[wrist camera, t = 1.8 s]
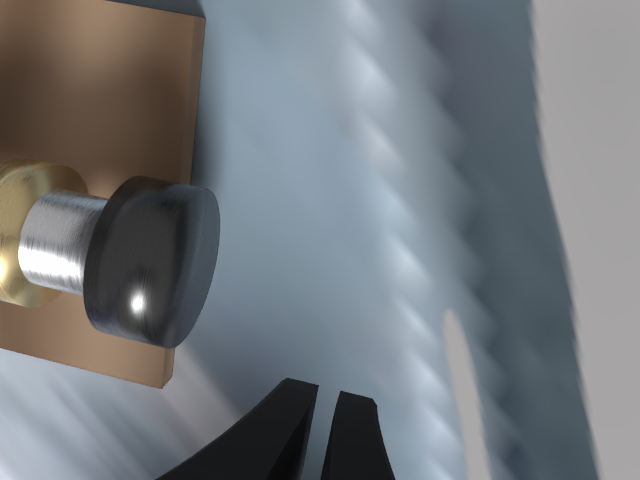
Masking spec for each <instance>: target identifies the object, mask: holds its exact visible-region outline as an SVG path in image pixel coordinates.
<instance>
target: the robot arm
mask: <svg viewBox="0 0 640 480" xmlns="http://www.w3.org/2000/svg"><path fill="white" fill-rule="evenodd" d="M318 387H319V385H315V384H311V383H307V382H303V381H299V380H295V379H291V378H286V379H285V380H283V381H281V382H280V383H279V384H278V385H277V386H276V387H275V388H274V389H273V390H272V391H271V392H270V393H269V394H268V395H267V396H266V397H265V398H264V399H263V400H262V401H261V402H260V403H259V404H258V405H256V406H255V407H254V408H253V409H252V410H251V411H250V412H249V413H247V414H246V415H245V416H244V417H243V418H241V419H240V420H239V421H238V422H237V423H235V424H234V425H233V426H232V427H231V428H229V429H228V430H227V431H226V432H224V433H223V434H222V435H221V436H219V437H218V438H217V439H215V440H214V441H212V442H211V443H210V444H208V445H207V446H205V447H204V448H203V449H201V450H200V451H199V452H197V453H196V454H194V455H193V456H192V457H190V458H189V459H187V460H186V461H184V462H183V463H181V464H180V465H178V466H177V467H175V468H173V469H172V470H170V471H169V472H167V473H165V474H164V475H162V476H160V477H159V478H157V479H155V480H300V478H301V474H302V470H303V465H304V460H305V454H306V449H307V444H308V439H309V434H310V428H311V423H312V418H313V413H314V408H315V402H316V397H317V392H318ZM321 480H395V477H394V474H393V471H392V468H391V465H390V462H389V459H388V456H387V453H386V449H385V446H384V442H383V438H382V434H381V430H380V425H379V420H378V413H377V405H376V403H375V402H374V400H373V399H372V398H368V397H364V396H360V395H356V394H352V393H348V392H343V391H340V394H339V397H338V401H337V404H336V408H335V412H334V417H333V421H332V426H331V431H330V436H329V441H328V446H327V451H326V455H325V460H324V465H323V470H322V475H321Z"/></svg>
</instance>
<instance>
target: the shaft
mask: <svg viewBox="0 0 640 480" xmlns="http://www.w3.org/2000/svg"><path fill="white" fill-rule="evenodd" d="M219 237H220V213H219V207H218V203H217V200H216V197H215V195H214V194H213V192H212V191H210V190H208V189H205V188H200V187H195V186H190V185H186V184H181V183H176V182H171V181H167V180H162V179H157V178H152V177H148V176H143V175H138V176H134V177H131V178H130V179H128V180H126V181H125V182H124V183H122V184H121V185H120V186H119V187H118V188H117V189H116V191H115V192H114V193H113V194H112V196H111V197H110V199H107V198H102V197H98V196H93V195H89V192H88V188H87V186H86V184H85V182H84V180H83V178H82V177H81V176H80V174H79V173H78V172H76V171H75V170H74V169H72V168H70V167H67V166H64V165H59V164H54V163H49V162H45V161H40V160H35V159H31V158H15V159H12V160H9V161H7V162H5V163H3V164H2V165H0V300H1V301H5V302H9V303H13V304H17V305H21V306H25V307H33V308H34V307H40V306H43V305H45V304H47V303H49V302H51V301H52V300H54V299H55V298H56V297H57V296H58V295H60V294H61V293H62V292H63V291H65V292H69V293H74V294H78V295H82V296H83V299H84V306H85V311H86V314H87V317H88V320H89V321H90V323H91V325H92V326H93V327H94V328H95V329H96V330H97V331H99V332H102V333H106V334H110V335H114V336H118V337H122V338H126V339H130V340H134V341H138V342H142V343H146V344H150V345H154V346H158V347H162V348H166V349H172V348H175V347H177V346H178V345H179V344H180V343H181V342H182V341H183V340H184V339H185V338H186V337H187V335H188V334H189V333H190V331H191V329H192V328H193V326H194V324H195V322H196V321H197V319H198V316H199V314H200V312H201V310H202V308H203V305H204V302H205V300H206V297H207V294H208V291H209V288H210V285H211V281H212V277H213V274H214V269H215V265H216V260H217V254H218V247H219Z"/></svg>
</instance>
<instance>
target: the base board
mask: <svg viewBox="0 0 640 480" xmlns="http://www.w3.org/2000/svg"><path fill="white" fill-rule="evenodd" d="M205 22H206V18H202V17H197V16H192V15H186V14H181V13H175V12H169V11H163V10H158V9H152V8H146V7H141V6H135V5H129V4H123V3H118V2H112V1H106V0H0V165H2V164H3V163H5V162H7V161H9V160H12V159H15V158H31V159H35V160H40V161H45V162H49V163H54V164H59V165H64V166H67V167H70V168H72V169H74V170H75V171H76V172H78V173H79V174H80V176H81V177H82V178H83V180H84V182H85V184H86V186H87V188H88V192H89V195H93V196H98V197H102V198H107V199H110V197H111V196H112V194H113V193H114V192H115V191H116V189H117V188H118V187H119V186H120V185H121V184H122V183H124V182H125V181H126V180H128V179H130V178H131V177H134V176H138V175H143V176H148V177H152V178H157V179H162V180H167V181H171V182H176V183H181V184H186V185H190V181H191V170H192V160H193V149H194V139H195V128H196V117H197V107H198V96H199V86H200V75H201V64H202V54H203V43H204V33H205ZM0 348H2V349H6V350H10V351H14V352H18V353H22V354H26V355H30V356H34V357H37V358H41V359H45V360H49V361H53V362H57V363H61V364H65V365H69V366H73V367H76V368H80V369H84V370H88V371H92V372H96V373H100V374H104V375H108V376H112V377H116V378H119V379H123V380H127V381H131V382H135V383H139V384H143V385H147V386H151V387H155V388H159V389H162V388H163V387H164V386H165V384H166V383H167V382H168V381H169V379H170V378H171V377H172V372H173V361H174V350H175V348H172V349H166V348H162V347H158V346H154V345H150V344H146V343H142V342H138V341H134V340H130V339H126V338H122V337H118V336H114V335H110V334H106V333H102V332H99V331H97V330H96V329H95V328H94V327H93V326H92V325H91V323H90V321H89V320H88V317H87V314H86V311H85V306H84V299H83V296H82V295H78V294H74V293H69V292H65V291H63V292H62V293H61V294H60V295H58V296H57V297H56V298H55V299H54V300H52V301H51V302H49V303H47V304H45V305H43V306H40V307H34V308H33V307H25V306H21V305H17V304H13V303H9V302H5V301H1V300H0Z"/></svg>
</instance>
